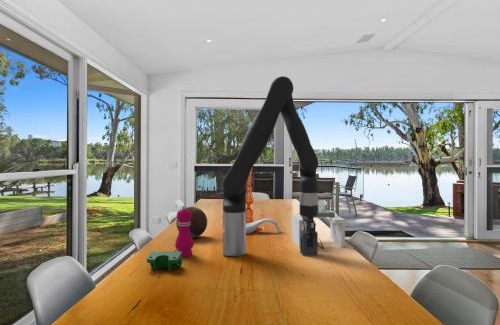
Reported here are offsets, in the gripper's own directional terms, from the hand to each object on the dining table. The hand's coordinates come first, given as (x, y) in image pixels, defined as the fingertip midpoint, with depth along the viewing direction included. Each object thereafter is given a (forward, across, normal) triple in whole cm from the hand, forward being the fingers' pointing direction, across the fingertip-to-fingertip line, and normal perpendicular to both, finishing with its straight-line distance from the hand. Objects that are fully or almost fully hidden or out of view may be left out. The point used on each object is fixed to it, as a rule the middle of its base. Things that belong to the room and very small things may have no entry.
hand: (308, 245), depth 157 cm
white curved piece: (+4, -46, -17) cm, 50 cm away
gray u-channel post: (+3, 0, 0) cm, 3 cm away
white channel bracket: (+3, -18, +8) cm, 20 cm away
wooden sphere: (+4, -35, -50) cm, 61 cm away
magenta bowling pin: (+4, -1, -50) cm, 50 cm away
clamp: (+4, +18, -55) cm, 58 cm away
